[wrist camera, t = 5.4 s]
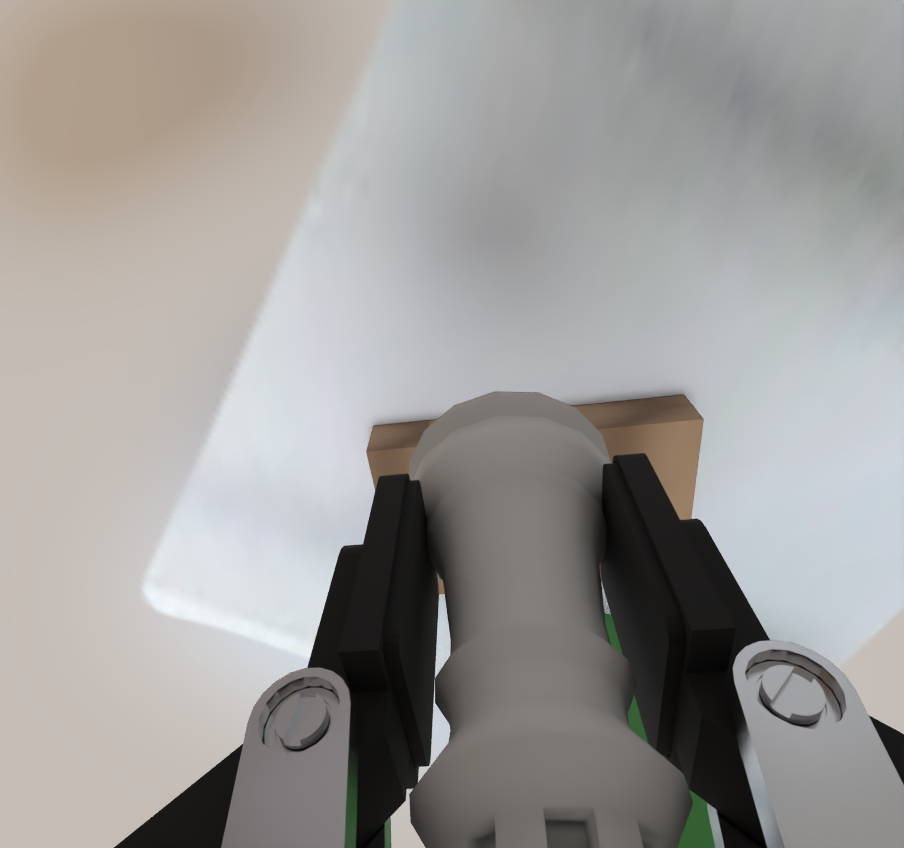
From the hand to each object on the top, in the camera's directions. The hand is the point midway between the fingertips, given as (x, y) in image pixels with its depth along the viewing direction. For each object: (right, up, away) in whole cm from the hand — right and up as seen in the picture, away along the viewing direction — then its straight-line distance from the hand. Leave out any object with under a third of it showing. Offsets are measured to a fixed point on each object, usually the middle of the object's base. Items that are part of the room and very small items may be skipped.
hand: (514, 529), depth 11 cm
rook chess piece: (0, +1, +2) cm, 2 cm away
